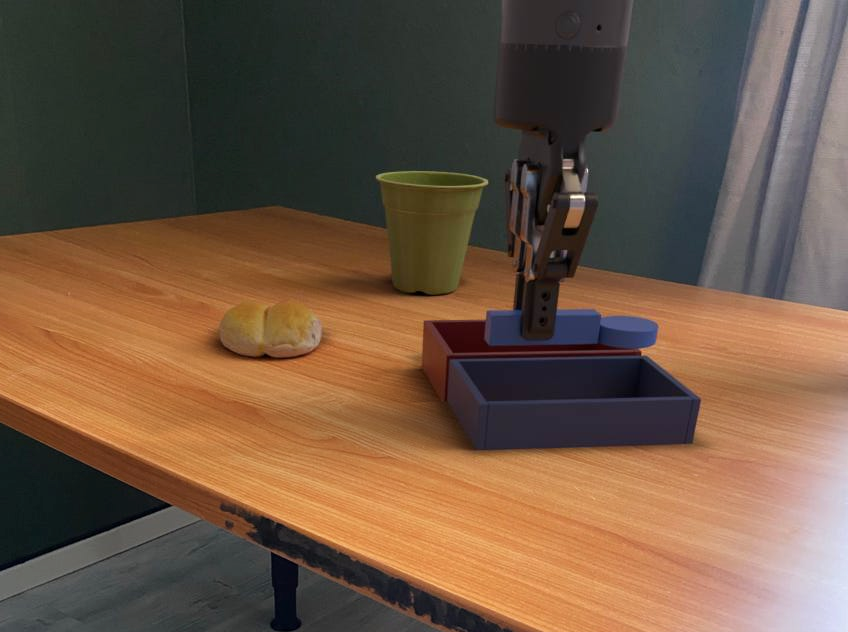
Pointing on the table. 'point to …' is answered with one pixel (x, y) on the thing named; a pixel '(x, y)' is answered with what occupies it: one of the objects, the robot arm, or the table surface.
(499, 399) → the blue bin
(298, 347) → the bread roll
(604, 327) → the spoon blue
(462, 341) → the red bin
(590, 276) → the table surface
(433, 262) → the plant pot
